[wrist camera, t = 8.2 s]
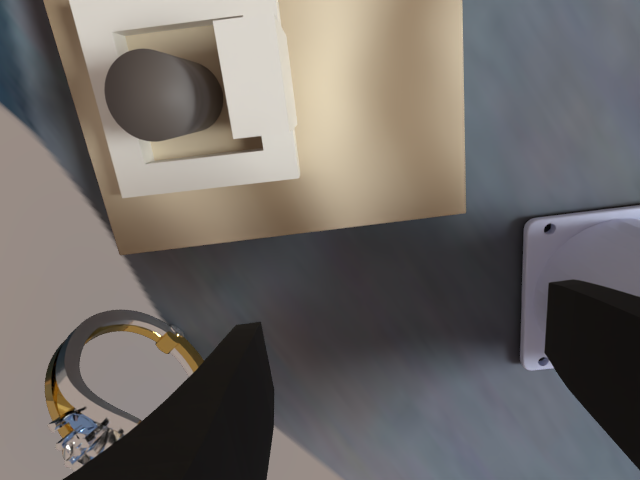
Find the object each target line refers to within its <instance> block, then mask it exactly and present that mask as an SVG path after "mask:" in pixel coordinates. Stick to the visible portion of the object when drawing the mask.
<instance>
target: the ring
mask: <svg viewBox="0 0 640 480" xmlns="http://www.w3.org/2000/svg"><path fill="white" fill-rule="evenodd" d="M115 331H128V332H134V333H137V334H141V335H143V336H146V337H148V338H150V339H152V340H154V341H155V342H156V346H157V347H158V348H159V349H160V350H161V351H162V352H164V353H166V354H169V353H171V354H172V355H173V356H174V357H175V358H176V359H177V360H178V361H179V362H180V364H181V365H182V367H183V368H184V369H185V371H186V373H187V374H188V376H189V377H190V376H191V375H192V374H193V373H194V372H195V371H196V370H197V368H198V367H199V366H200V365H201V364H202V363H203V362H204V360H203V359H202V357H201V356H200V355H199V353H198V352H197V351H196V350H195V348H194V347H193V346H192V345H191V344H190V343H189V342H188V341H187V340H186V339H185V338H184V333H183V332H182V331H181V330H180V329H179V328H178V327H176V326H174V325H171V326H169V325H168V324H166V323H165V322H163V321H161V320H159V319H157V318H155V317H153V316H150V315H147V314H144V313H141V312H137V311H131V310H111V311H106V312H102V313H99V314H96V315H93V316H91V317H90V318H88V319H86V320H85V321H84V322H82V323H81V324H80V325H79V326H78V327H77V328H76V329H75V330H74V331H73V332H72V333H71V334H70V335H69V336H68V337H67V339H66V340H65V341H64V342H63V343H62V344H61V345H60V346H59V348H58V349H57V350H56V352H55V353H54V355H53V357H52V359H51V361H50V363H49V366H48V369H47V373H46V378H45V397H46V403H47V407H48V410H49V413H50V416H51V418H52V422H51V423H49V424H48V427H49V429H50V431H51V432H52V433H54V432H55V431H57V430H58V432H59V434H60V435H61V437H62V439H61V440H60V441H59V442H58V443H57V444H56V445H55V448H56V449H57V450H59V451H61V450H62V454H63V458H64V460H65V462H64V465H65V466H66V467H67V468H71V469H72V470H74V471H76V470H78V469H79V468H81V467H82V466H83V465H85V464H86V463H87V462H89V461H90V460H92V459H93V458H94V457H96V456H97V455H99V454H100V453H101V452H103V451H104V450H105V449H107V448H108V447H110V446H111V445H112V444H114V443H115V442H117V441H118V440H119V439H121V438H122V437H123V436H124V435H126V434H127V433H128V432H129V431H131V430H132V429H133V428H134V427H135V426H137V425H138V424H139V423H140V422H142V421H141V420H140V419H138V418H136V417H135V416H133V415H131V414H128V413H127V412H124V411H122V410H120V409H118V408H116V407H114V406H113V405H111V404H109V403H107V402H105V401H104V400H102V399H101V398H99V397H98V396H97V395H95V394H94V393H93V392H92V391H90V389H89V388H88V387H87V386H86V384H85V383H84V381H83V379H82V377H81V374H80V369H79V362H80V356H81V352H82V349H83V346H84V345H85V344H86V343H87V342H88V341H90V340H92V339H93V338H95V337H97V336H99V335H102V334H105V333H109V332H115Z"/></svg>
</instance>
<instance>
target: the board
mask: <svg viewBox="0 0 640 480" xmlns="http://www.w3.org/2000/svg"><path fill="white" fill-rule="evenodd" d="M43 1H44V5H45V8H46V11H47V15H48V18H49V21H50V25H51V28H52V31H53V35H54V38H55V41H56V45H57V48H58V51H59V55H60V58H61V61H62V65H63V68H64V71H65V75H66V78H67V81H68V84H69V88H70V91H71V94H72V98H73V101H74V104H75V108H76V111H77V114H78V118H79V121H80V124H81V128H82V131H83V134H84V138H85V141H86V144H87V148H88V151H89V154H90V158H91V161H92V164H93V168H94V171H95V174H96V177H97V181H98V184H99V187H100V191H101V194H102V197H103V201H104V204H105V207H106V211H107V214H108V217H109V221H110V224H111V227H112V231H113V234H114V237H115V241H116V244H117V247H118V251H119V254H120V255H127V254H135V253H143V252H151V251H160V250H168V249H176V248H184V247H192V246H201V245H209V244H217V243H225V242H233V241H242V240H250V239H258V238H266V237H274V236H283V235H291V234H299V233H307V232H315V231H324V230H332V229H340V228H348V227H356V226H365V225H373V224H381V223H389V222H397V221H406V220H414V219H422V218H430V217H438V216H447V215H455V214H463V213H466V186H465V130H464V75H463V19H462V0H278V4H279V11H280V19H281V27H282V29H283V30H284V32H285V34H286V37H287V45H288V52H289V60H290V68H291V76H292V84H293V92H294V100H295V108H296V116H297V126H296V127H295V136H296V144H297V151H298V159H299V167H300V177H299V178H298V179H289V180H280V181H271V182H263V183H254V184H245V185H236V186H227V187H218V188H209V189H200V190H191V191H182V192H174V193H165V194H156V195H147V196H138V197H129V198H122V195H121V191H120V188H119V184H118V180H117V177H116V173H115V169H114V165H113V162H112V158H111V154H110V151H109V147H108V143H107V140H106V136H105V132H104V128H103V125H102V121H101V117H100V114H99V110H98V106H97V103H96V99H95V95H94V91H93V88H92V84H91V80H90V77H89V73H88V69H87V65H86V62H85V58H84V54H83V51H82V47H81V43H80V40H79V36H78V32H77V28H76V25H75V21H74V17H73V14H72V10H71V6H70V3H69V0H43ZM125 38H126V42H127V47H128V52H126V53H124V54H122V55H121V56H120V57H118V58H117V59H116V60H115V61H114V62H113V64H112V65H111V67H110V68H109V70H108V73H107V76H106V79H105V88H104V91H105V99H106V103H107V106H108V109H109V111H110V113H111V115H112V117H113V118H114V120H115V121H116V122H117V124H118V125H119V126H120V127H121V128H122V129H123V130H125V131H126V132H127V133H129V134H130V135H132V136H134V137H136V138H138V139H141V140H145V141H150V143H151V147H152V152H153V156H154V160H155V161H156V160H164V159H173V158H182V157H190V156H199V155H208V154H216V153H225V152H234V151H242V150H251V149H259V148H263V143H262V137H261V136H256V137H247V138H239V139H233V134H232V129H231V123H230V117H229V111H228V106H227V100H226V94H225V89H224V83H223V77H222V72H221V66H220V60H219V54H218V49H217V43H216V37H215V32H214V26H213V25H208V26H200V27H192V28H184V29H177V30H169V31H161V32H153V33H145V34H138V35H130V36H125Z"/></svg>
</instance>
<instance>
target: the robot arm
mask: <svg viewBox="0 0 640 480" xmlns="http://www.w3.org/2000/svg"><path fill="white" fill-rule="evenodd" d="M550 223H551V228H550V230H549V231H547V232H544V228H545V226H546V225H547V224H550ZM542 357H544V359H543V360H542V361H539V359H540V358H542ZM520 362H521V364H522V365H523V366H524V368H525V369H527V370H541V369H551V368H554V369H555V370H556V372H557V373H558V375H559V376H560V378H561V379H562V381H563V382H564V383H565V385H566V386H567V388H568V389H569V390H570V391H571V392H572V394H573V395H574V396H575V397H576V398H577V399H578V401H579V402H580V403H581V404H582V405H583V406H584V408H585V409H586V410H587V411H588V412H589V413H590V414H591V416H592V417H593V418H594V419H595V420H596V421H597V422H598V424H599V425H600V426H601V427H602V428H603V429H604V430H605V431H606V433H607V434H608V435H609V436H610V437H611V438H612V439H613V440H614V442H615V443H616V444H617V445H618V446H619V447H620V448H621V449H622V451H623V452H624V453H625V454H626V455H627V456H628V457H629V459H630V460H631V461H632V462H633V463H634V464H635V465H636V466H637V468H638V469H639V470H640V205H637V206H628V207H620V208H612V209H603V210H595V211H587V212H579V213H570V214H562V215H554V216H545V217H537V218H533V219H530V220H529V221H528V222H527V223H526V224H525V226H524V236H523V272H522V308H521V344H520ZM273 428H274V386H273V381H272V376H271V371H270V366H269V361H268V356H267V351H266V346H265V341H264V336H263V332H262V327H261V322H256V323H249V324H241V325H236V326H235V327H234V328H233V329H232V330H231V331H230V332H229V334H228V335H227V336H226V337H225V338H224V339H223V340H222V342H221V343H220V344H219V345H218V346H217V347H216V348H215V350H214V351H213V352H212V353H211V354H210V355H209V356H208V357H207V358H206V360H205V361H204V362H203V363H202V364H201V365H200V366H199V367H198V368H197V370H196V371H195V372H194V373H193V374H192V375H191V376H190V377H189V378H188V379H187V380H186V381H185V382H184V383H183V384H182V385H181V386H180V387H179V388H178V389H177V390H176V391H175V392H174V393H173V394H172V395H171V396H170V397H169V398H168V399H166V400H165V401H164V402H163V403H162V404H161V405H160V406H159V407H158V408H157V409H156V410H154V411H153V412H152V413H151V414H150V415H149V416H148V417H146V418H145V419H144V420H143V421H142V422H140V423H139V424H138V425H137V426H135V427H134V428H133V429H132V430H131V431H129V432H128V433H127V434H126V435H124V436H123V437H122V438H121V439H119V440H118V441H117V442H115V443H114V444H112V445H111V446H110V447H108V448H107V449H105V450H104V451H103V452H101V453H100V454H99V455H97V456H96V457H94V458H93V459H92V460H90V461H89V462H87V463H86V464H85V465H83V466H82V467H81V468H79V469H78V470H76V471H75V472H73V473H72V474H70V475H69V476H68V477H66V478H64V479H63V480H266V479H267V472H268V465H269V457H270V450H271V442H272V435H273Z"/></svg>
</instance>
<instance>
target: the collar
mask: <svg viewBox="0 0 640 480" xmlns="http://www.w3.org/2000/svg"><path fill="white" fill-rule="evenodd" d="M69 3H70V6H71V10H72V14H73V17H74V21H75V25H76V28H77V32H78V36H79V40H80V43H81V47H82V51H83V54H84V58H85V62H86V65H87V69H88V73H89V77H90V80H91V84H92V88H93V91H94V95H95V99H96V103H97V106H98V110H99V114H100V117H101V121H102V125H103V128H104V132H105V136H106V140H107V143H108V147H109V151H110V154H111V158H112V162H113V165H114V169H115V173H116V177H117V180H118V184H119V188H120V191H121V195H122V198H129V197H138V196H147V195H156V194H165V193H174V192H182V191H191V190H200V189H209V188H218V187H227V186H236V185H245V184H254V183H263V182H271V181H280V180H289V179H298V178H299V177H300V167H299V159H298V151H297V144H296V136H295V127H296V126H297V116H296V108H295V100H294V92H293V84H292V76H291V68H290V60H289V52H288V45H287V37H286V34H285V32H284V30H283V29H282V27H281V19H280V11H279V4H278V0H69ZM208 25H213V26H214V32H215V37H216V43H217V49H218V54H219V60H220V66H221V72H222V77H223V83H224V89H225V94H226V100H227V106H228V111H229V117H230V123H231V129H232V134H233V139H239V138H247V137H256V136H261V137H262V143H263V148H259V149H251V150H242V151H234V152H225V153H216V154H208V155H199V156H190V157H182V158H173V159H164V160H156V161H155V160H154V156H153V152H152V147H151V143H150V141H145V140H141V139H138V138H136V137H134V136H132V135H130V134H129V133H127V132H126V131H125V130H123V129H122V128H121V127H120V126H119V125H118V124H117V122H116V121H115V120H114V118H113V117H112V115H111V113H110V111H109V109H108V106H107V103H106V99H105V91H104V88H105V79H106V76H107V73H108V70H109V68H110V67H111V65H112V64H113V62H114V61H115V60H116V59H117V58H118V57H120V56H121V55H122V54H124V53H126V52H128V47H127V42H126V38H125V36H130V35H138V34H145V33H153V32H161V31H169V30H177V29H184V28H192V27H200V26H208Z"/></svg>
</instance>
